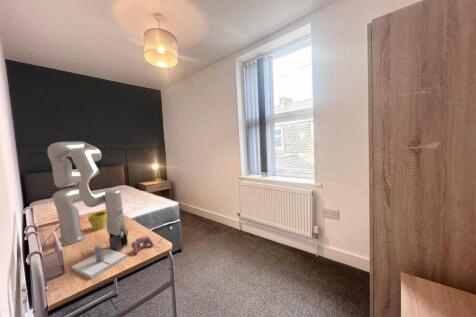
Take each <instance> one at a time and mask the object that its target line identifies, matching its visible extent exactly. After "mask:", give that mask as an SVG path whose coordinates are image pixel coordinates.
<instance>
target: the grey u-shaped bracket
mask: <svg viewBox="0 0 476 317" xmlns="http://www.w3.org/2000/svg"><path fill="white" fill-rule="evenodd" d="M108 241H109V242H108V243H109V249H111V250H113V251H116V252H119V250H121V249H123V248H125V247H127V246H128V244H129V243H127V244H125V245H123V246H122V245H121V237H120V235H115V236H113V237H111V238H110V237H109V238H108Z"/></svg>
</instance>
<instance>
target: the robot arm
mask: <svg viewBox="0 0 476 317" xmlns="http://www.w3.org/2000/svg"><path fill="white" fill-rule="evenodd" d="M47 156H48V158H49V161H50V164H51V167H52V168H51V169H52V176H53V182H54V185H55V186H56V187H57V188H60V190H58V191H56V192H54V193H53V195H52V201H53V204H54V206H55V209H56V213H57V214H56V215H57V219H58V227H59V234H60V238H61V239H59V241H60V243H61V244H62V245H61V246H67V245H73V244H75V243H78V242H80V241H82V240H84V239H85V238H86V234H85V233H84V232H82V226H81V220H80V213H79V209H78V207H77V206H75V205H74V204H75V203H79V202H81V201H82V203H83V204H84V205H85V206H86V207H88V208H95V207H98V206H100V205H103V204H105V212H107V218H106V231H107V233H108V235H109V238H111V237H113V236H115V235H120V237H121V245H122V246H123V245H125V244H129V243H128V235H129V229H128V228H127V226H126V220H125V217H124V210H123V208H124V207H123V202H122V195H121V193H122V192H121V191H120V189H110V188H103V189H99V190H95V191H93V192H92V191H91V188H90V186H89V182H90V181H91V179H92V178H95V177H96V176H97V175H99V173H100V170H99V168H98V165H97V164H96V162H98V161H100V160H102V156H103V154H102V151H101V150H100V149H99V148H98V147H96V146H94V145H92V144H90V143H87V142H85V141H58V142H54V143H51V144H50V145H49V146H48V147H47ZM69 157H70V158H71V160H72V162H73V163H72V162H71V160H70V159H69ZM72 164H74V165H75V167H76V168H75V169H73V166H72ZM67 187H69V188H67ZM61 188H64V189H61Z"/></svg>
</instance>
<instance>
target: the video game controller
mask: <svg viewBox="0 0 476 317" xmlns="http://www.w3.org/2000/svg"><path fill="white" fill-rule="evenodd" d="M141 244H142V245H141ZM148 244H149V245H150V246H151V247H153V246H154V243H153V241H152V239H151V238H150V237H149V236H146V235H145V236H141V237H138V238H137V239H136V240H134V241H133V242H132V243H131V248H132V250H133V251H134V253H135V254H136V255H138V254H139V251H140V250H142V247H143V248H147V246H148Z"/></svg>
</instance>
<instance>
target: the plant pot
mask: <svg viewBox="0 0 476 317" xmlns="http://www.w3.org/2000/svg"><path fill="white" fill-rule="evenodd" d="M87 218H88V222H89V223H90V225H91V227H92V229H93V231H100V230H102V229H105V227H106V225H107V212H106V211H98V212H94V213H92V214H90V215H88V216H87Z"/></svg>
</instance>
